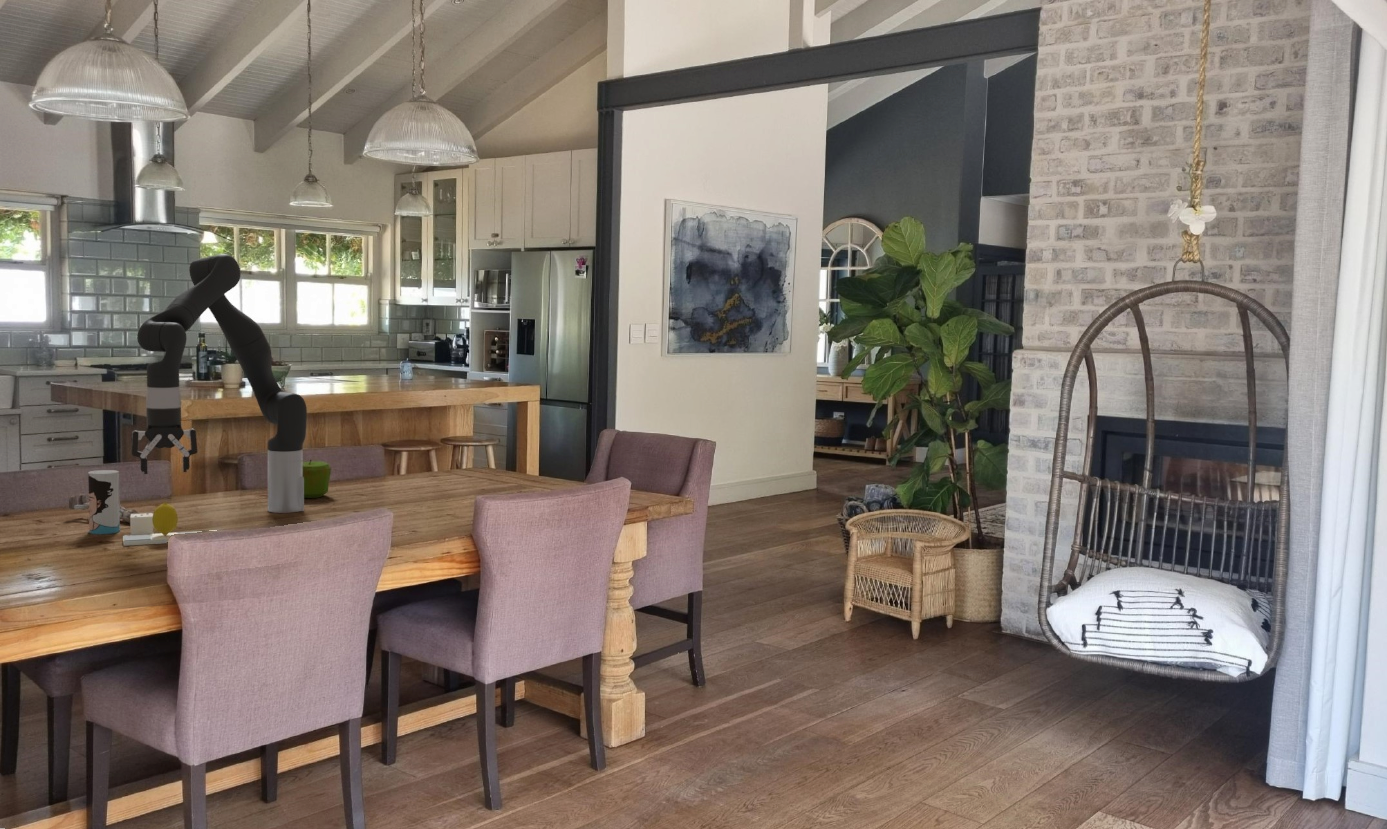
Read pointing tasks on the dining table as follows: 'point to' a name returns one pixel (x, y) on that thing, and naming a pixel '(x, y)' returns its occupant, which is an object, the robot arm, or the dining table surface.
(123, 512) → the figurine
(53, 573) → the dining table surface
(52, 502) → the dining table surface
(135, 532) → the off-white cube
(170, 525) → the lemon
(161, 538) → the board
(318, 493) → the apple
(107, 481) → the cup
